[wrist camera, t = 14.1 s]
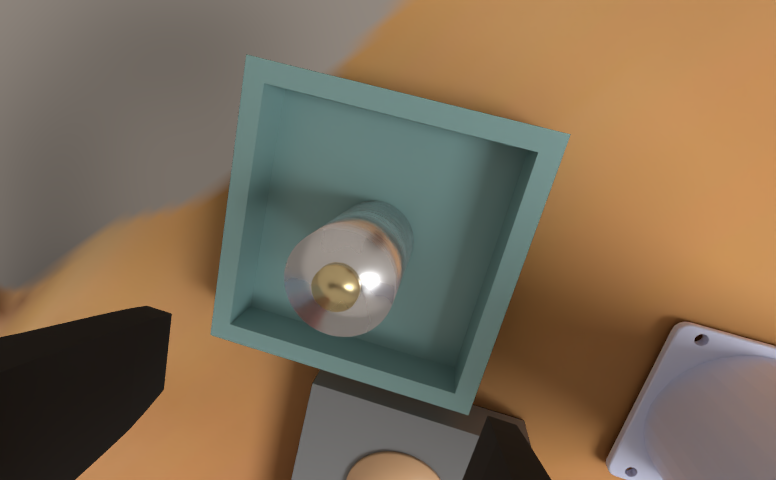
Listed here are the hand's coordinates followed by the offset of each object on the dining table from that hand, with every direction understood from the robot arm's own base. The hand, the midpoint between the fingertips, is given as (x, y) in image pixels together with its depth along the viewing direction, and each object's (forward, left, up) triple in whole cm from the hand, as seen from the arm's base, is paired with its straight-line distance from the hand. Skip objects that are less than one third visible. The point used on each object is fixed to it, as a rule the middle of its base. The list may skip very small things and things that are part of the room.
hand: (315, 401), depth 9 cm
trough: (+1, -1, -10) cm, 10 cm away
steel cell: (+1, -1, -9) cm, 9 cm away
